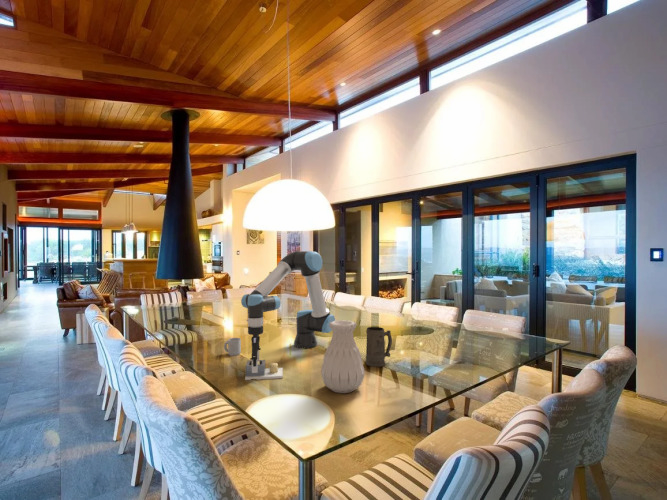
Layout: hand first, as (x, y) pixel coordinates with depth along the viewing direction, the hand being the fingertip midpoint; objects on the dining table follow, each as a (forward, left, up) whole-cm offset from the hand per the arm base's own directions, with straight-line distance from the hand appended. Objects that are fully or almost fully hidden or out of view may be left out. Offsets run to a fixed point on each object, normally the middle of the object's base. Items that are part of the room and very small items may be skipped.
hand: (255, 367), depth 180 cm
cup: (+17, -39, -4) cm, 42 cm away
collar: (0, 0, -2) cm, 2 cm away
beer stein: (-66, -10, -4) cm, 67 cm away
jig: (-4, 0, -4) cm, 6 cm away
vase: (-40, +23, -4) cm, 47 cm away
